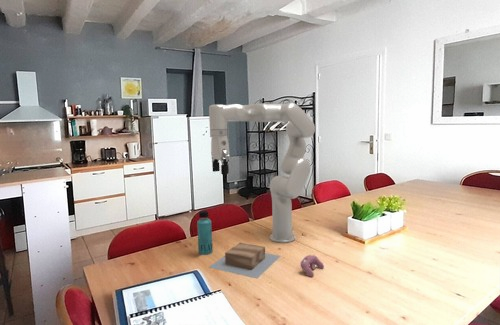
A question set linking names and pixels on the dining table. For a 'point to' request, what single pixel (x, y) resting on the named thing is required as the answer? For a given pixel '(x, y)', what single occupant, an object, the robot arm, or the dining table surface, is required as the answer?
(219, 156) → the robot arm
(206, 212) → the beverage bottle
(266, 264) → the base plate
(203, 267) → the dining table surface
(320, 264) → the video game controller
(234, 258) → the walnut block
